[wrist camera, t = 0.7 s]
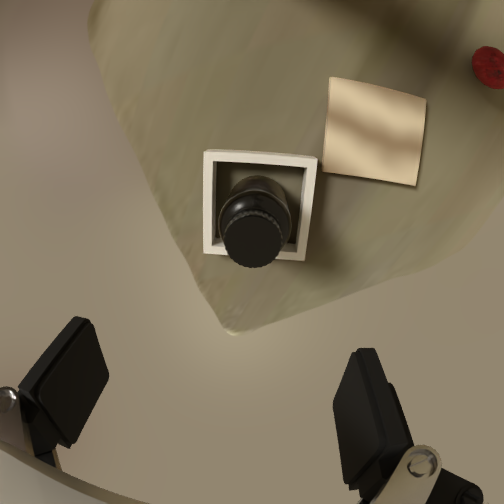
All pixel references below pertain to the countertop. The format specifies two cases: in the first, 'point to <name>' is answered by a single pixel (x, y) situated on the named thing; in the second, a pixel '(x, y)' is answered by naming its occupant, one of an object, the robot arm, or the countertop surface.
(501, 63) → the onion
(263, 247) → the supplement bottle
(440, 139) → the countertop surface
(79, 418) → the robot arm
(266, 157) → the white square frame
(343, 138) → the board
